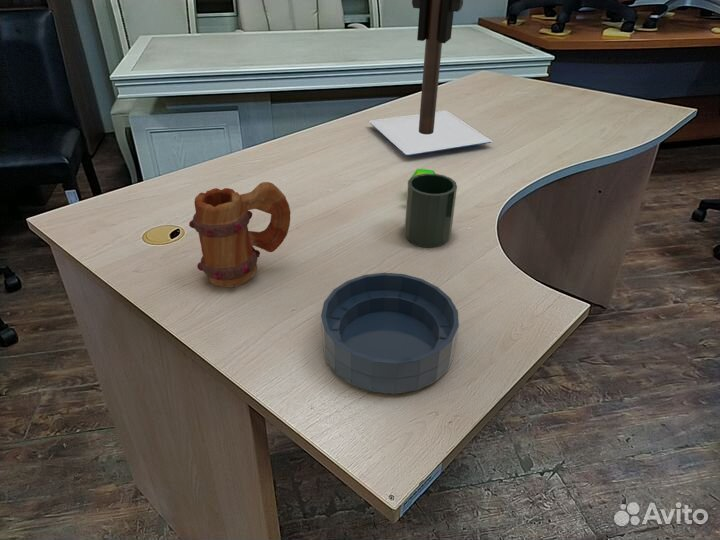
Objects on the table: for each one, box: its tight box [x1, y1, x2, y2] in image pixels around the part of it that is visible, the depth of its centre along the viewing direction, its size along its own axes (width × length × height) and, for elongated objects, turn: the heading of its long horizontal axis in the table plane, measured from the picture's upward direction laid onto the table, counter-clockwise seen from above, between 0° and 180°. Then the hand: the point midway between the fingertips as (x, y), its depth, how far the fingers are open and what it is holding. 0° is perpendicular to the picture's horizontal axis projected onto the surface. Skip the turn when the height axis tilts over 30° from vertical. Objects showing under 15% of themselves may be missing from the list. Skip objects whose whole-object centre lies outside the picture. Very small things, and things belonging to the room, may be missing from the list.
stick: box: [419, 0, 443, 134], centre depth 64 cm, size 2×2×22 cm
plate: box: [368, 110, 493, 157], centre depth 129 cm, size 22×22×2 cm
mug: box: [188, 181, 291, 288], centre depth 79 cm, size 15×8×15 cm, turn 108°
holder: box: [404, 173, 458, 249], centre depth 90 cm, size 8×8×10 cm
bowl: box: [320, 272, 460, 395], centre depth 68 cm, size 17×17×6 cm
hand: (434, 39), depth 64 cm, fingers closed on stick, 2 cm apart
